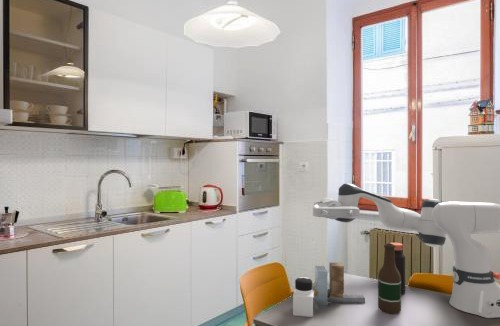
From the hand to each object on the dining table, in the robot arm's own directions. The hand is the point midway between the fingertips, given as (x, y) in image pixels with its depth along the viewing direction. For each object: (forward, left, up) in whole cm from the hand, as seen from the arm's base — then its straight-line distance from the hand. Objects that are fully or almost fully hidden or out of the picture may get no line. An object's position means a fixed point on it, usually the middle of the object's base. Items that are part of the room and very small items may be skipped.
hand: (339, 214), depth 143 cm
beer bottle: (-13, +20, -32) cm, 40 cm away
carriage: (+6, +12, -30) cm, 33 cm away
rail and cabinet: (+3, +14, -32) cm, 35 cm away
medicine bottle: (+18, +22, -32) cm, 43 cm away
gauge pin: (+12, +12, -30) cm, 34 cm away
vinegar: (-23, +2, -32) cm, 40 cm away
